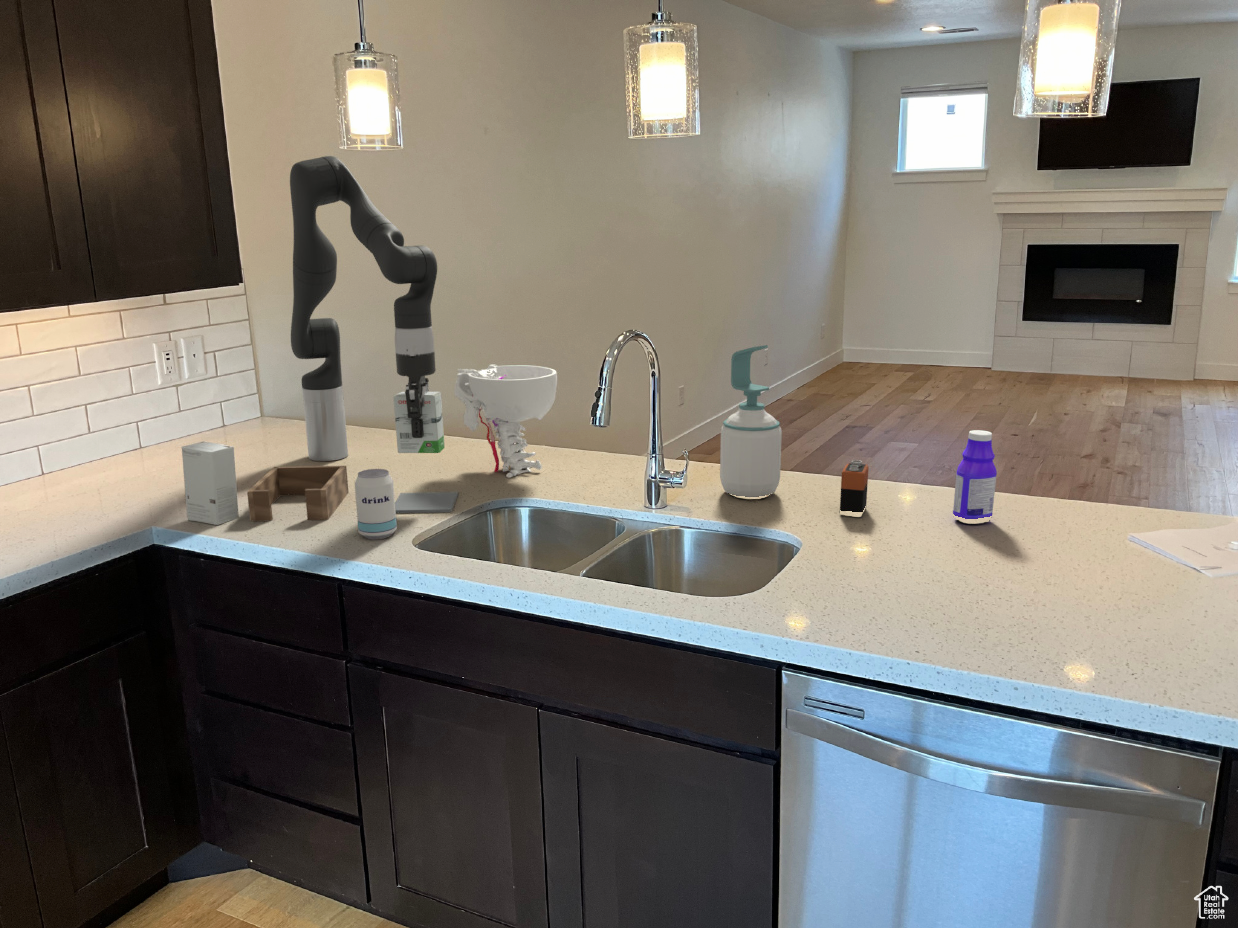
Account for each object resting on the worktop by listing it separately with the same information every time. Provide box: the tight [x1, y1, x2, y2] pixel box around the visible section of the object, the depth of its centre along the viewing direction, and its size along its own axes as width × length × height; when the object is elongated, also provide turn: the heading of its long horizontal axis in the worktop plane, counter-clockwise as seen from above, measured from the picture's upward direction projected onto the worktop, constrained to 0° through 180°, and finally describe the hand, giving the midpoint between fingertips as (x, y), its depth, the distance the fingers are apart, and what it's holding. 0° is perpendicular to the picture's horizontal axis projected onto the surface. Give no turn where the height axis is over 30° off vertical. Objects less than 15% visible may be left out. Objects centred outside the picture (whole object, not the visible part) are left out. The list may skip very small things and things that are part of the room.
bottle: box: [952, 429, 997, 519], centre depth 187 cm, size 7×6×17 cm
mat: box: [395, 491, 459, 514], centre depth 204 cm, size 12×12×1 cm
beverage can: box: [354, 468, 398, 540], centre depth 184 cm, size 7×7×12 cm
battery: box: [839, 459, 869, 512], centre depth 194 cm, size 4×7×10 cm, turn 159°
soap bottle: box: [719, 344, 783, 497], centre depth 204 cm, size 12×12×31 cm
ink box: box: [392, 391, 445, 454], centre depth 199 cm, size 9×5×12 cm, turn 84°
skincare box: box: [181, 441, 239, 526], centre depth 194 cm, size 8×6×15 cm
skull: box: [453, 364, 558, 478], centre depth 225 cm, size 25×19×23 cm
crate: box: [246, 465, 349, 522], centre depth 202 cm, size 18×15×6 cm
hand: (420, 433), depth 200 cm, fingers closed on ink box, 5 cm apart
